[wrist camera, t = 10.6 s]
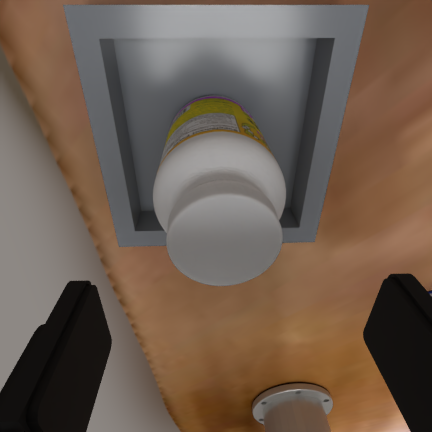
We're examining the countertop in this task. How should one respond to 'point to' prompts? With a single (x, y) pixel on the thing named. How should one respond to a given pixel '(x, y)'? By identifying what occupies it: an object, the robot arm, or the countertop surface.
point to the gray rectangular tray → (214, 93)
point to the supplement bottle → (219, 194)
